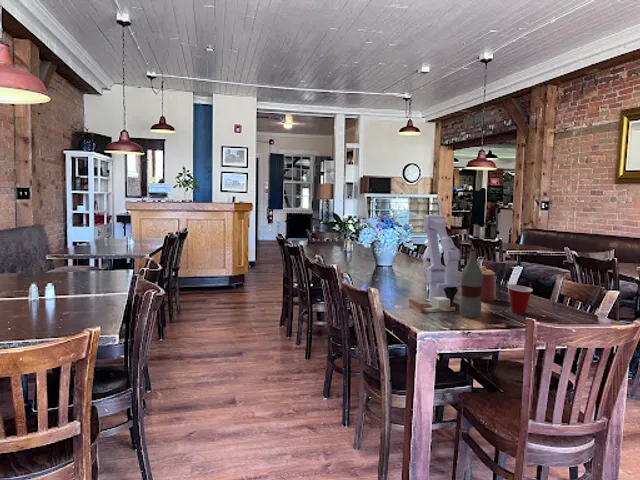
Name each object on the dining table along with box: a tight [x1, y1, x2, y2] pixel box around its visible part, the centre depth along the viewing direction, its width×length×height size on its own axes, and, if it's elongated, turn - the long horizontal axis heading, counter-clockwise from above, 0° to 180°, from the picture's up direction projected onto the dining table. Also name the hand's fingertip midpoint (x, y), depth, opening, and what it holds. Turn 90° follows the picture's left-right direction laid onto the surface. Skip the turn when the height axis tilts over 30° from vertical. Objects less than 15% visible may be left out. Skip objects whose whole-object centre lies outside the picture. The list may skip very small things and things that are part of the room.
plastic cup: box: [507, 284, 534, 315], centre depth 216 cm, size 11×11×12 cm
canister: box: [480, 265, 497, 302], centre depth 245 cm, size 13×13×18 cm
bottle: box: [459, 248, 483, 319], centre depth 208 cm, size 9×9×30 cm
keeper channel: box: [408, 298, 456, 314], centre depth 222 cm, size 18×11×4 cm, turn 107°
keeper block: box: [431, 297, 451, 308], centre depth 223 cm, size 6×6×5 cm
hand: (450, 302), depth 224 cm, fingers closed
